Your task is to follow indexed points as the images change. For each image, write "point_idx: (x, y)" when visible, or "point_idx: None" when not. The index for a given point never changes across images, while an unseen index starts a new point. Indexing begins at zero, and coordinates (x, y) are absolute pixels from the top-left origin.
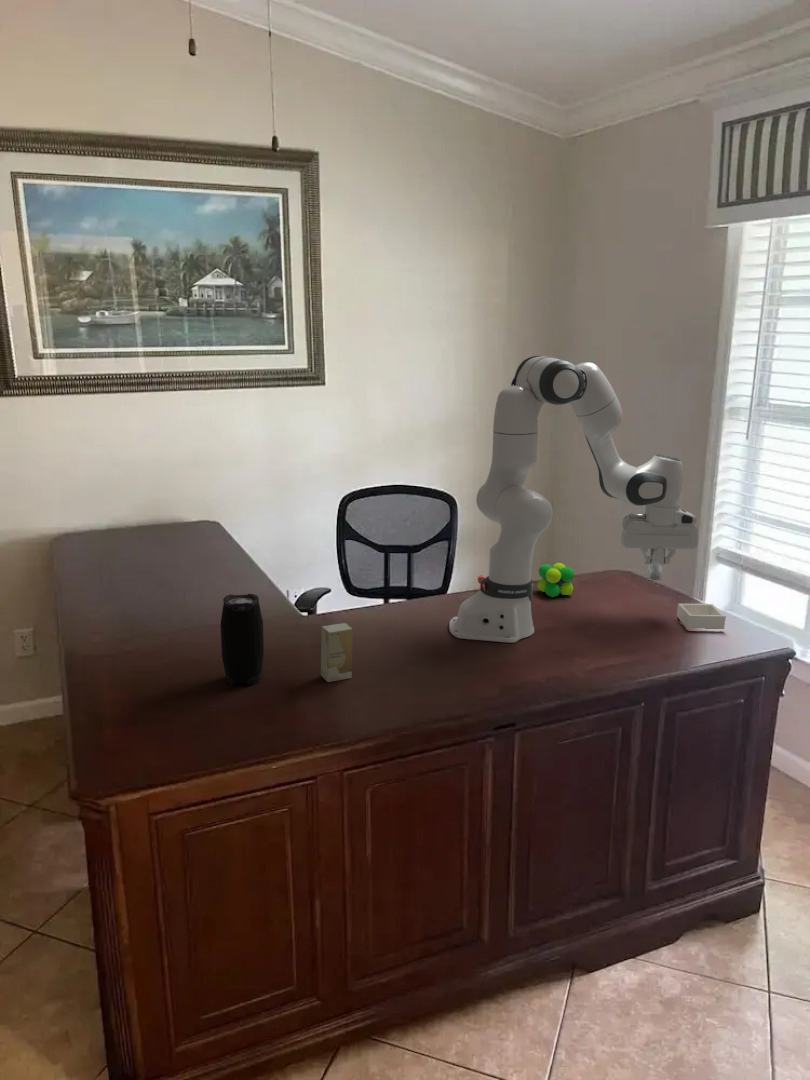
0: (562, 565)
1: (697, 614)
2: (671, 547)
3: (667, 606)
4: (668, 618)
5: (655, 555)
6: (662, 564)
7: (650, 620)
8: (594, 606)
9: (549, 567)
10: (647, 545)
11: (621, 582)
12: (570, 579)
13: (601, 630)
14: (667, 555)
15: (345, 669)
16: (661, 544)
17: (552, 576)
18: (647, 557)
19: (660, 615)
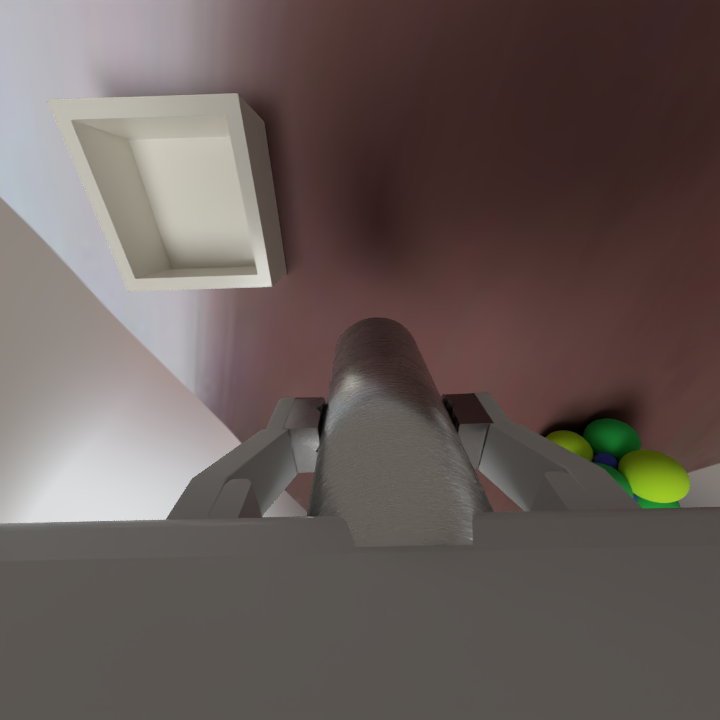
0: None
1: (208, 269)
2: (209, 539)
3: (297, 381)
4: (313, 278)
5: (438, 428)
6: (346, 377)
7: (380, 253)
8: (513, 367)
9: None
10: (680, 559)
11: None
12: None
13: (615, 115)
14: (284, 478)
15: None
16: (403, 600)
17: (675, 462)
18: (498, 426)
19: (334, 305)
